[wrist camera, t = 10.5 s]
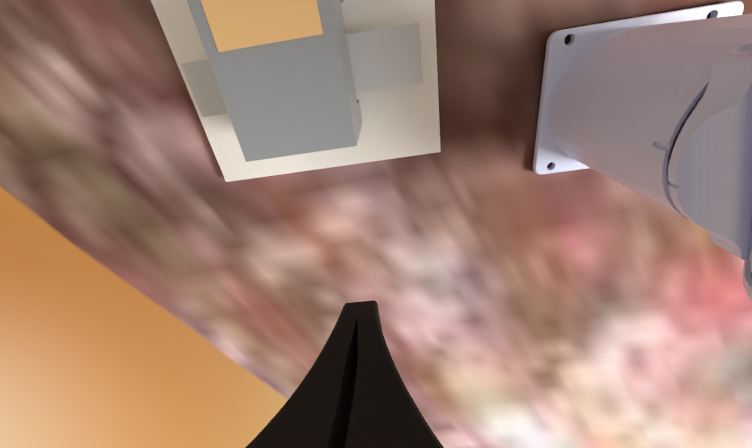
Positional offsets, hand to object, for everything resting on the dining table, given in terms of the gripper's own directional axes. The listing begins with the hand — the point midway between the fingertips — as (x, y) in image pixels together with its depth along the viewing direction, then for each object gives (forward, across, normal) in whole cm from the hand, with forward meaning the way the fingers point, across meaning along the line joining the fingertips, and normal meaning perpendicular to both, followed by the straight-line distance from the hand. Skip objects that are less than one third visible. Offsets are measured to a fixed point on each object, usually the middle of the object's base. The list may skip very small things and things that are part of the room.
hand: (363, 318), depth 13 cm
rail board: (+10, +2, -10) cm, 14 cm away
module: (+9, +2, -10) cm, 14 cm away
